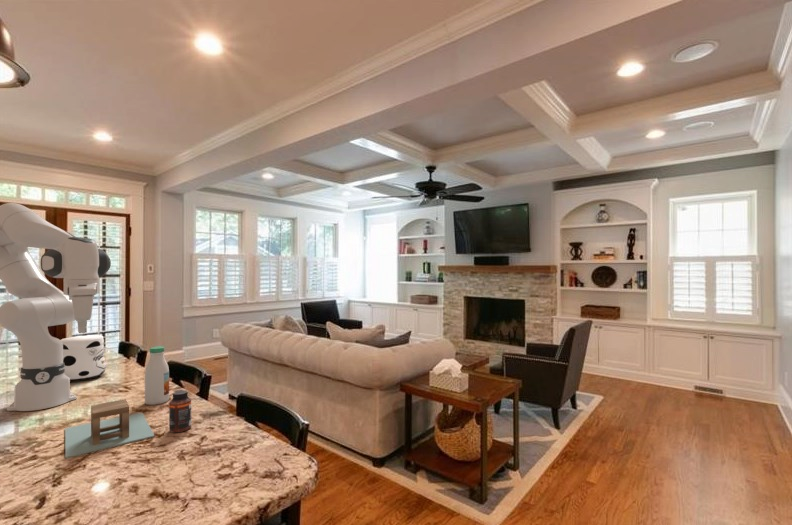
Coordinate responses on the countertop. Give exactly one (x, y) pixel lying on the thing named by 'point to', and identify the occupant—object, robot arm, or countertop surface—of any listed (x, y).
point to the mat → (81, 439)
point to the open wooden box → (109, 410)
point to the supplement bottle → (180, 412)
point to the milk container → (83, 357)
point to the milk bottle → (156, 378)
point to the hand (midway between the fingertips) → (81, 332)
